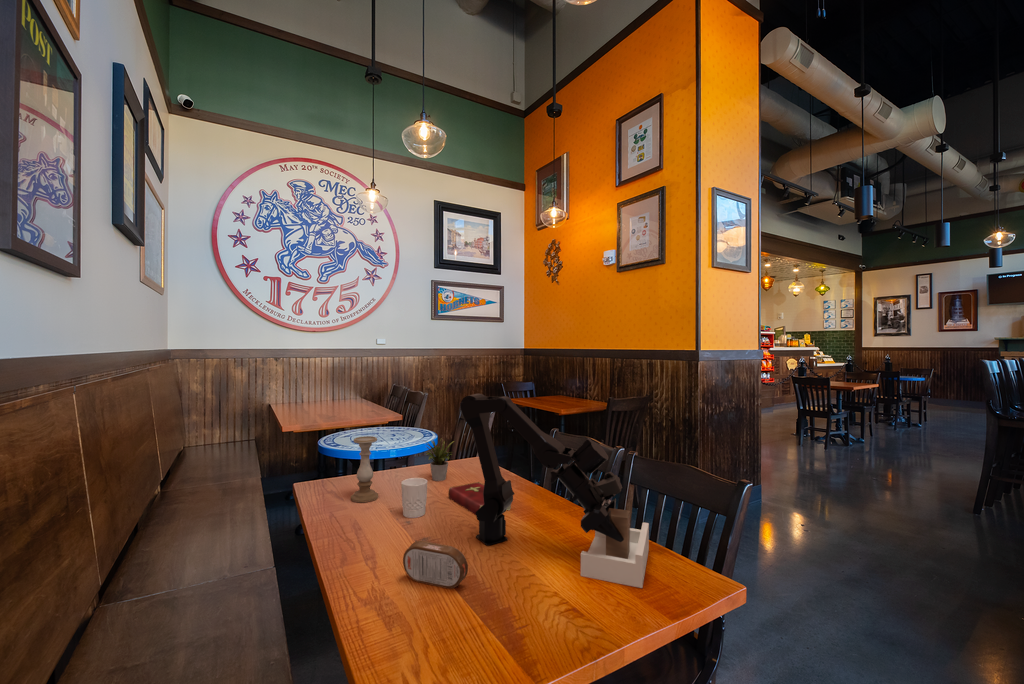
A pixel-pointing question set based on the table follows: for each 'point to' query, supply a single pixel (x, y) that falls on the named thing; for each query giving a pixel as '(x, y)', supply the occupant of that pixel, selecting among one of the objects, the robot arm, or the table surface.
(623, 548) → the walnut block
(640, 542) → the toy armchair
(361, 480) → the candle holder
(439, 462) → the house plant
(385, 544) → the table surface
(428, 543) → the tin
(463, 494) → the hardcover book
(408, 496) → the white cup
